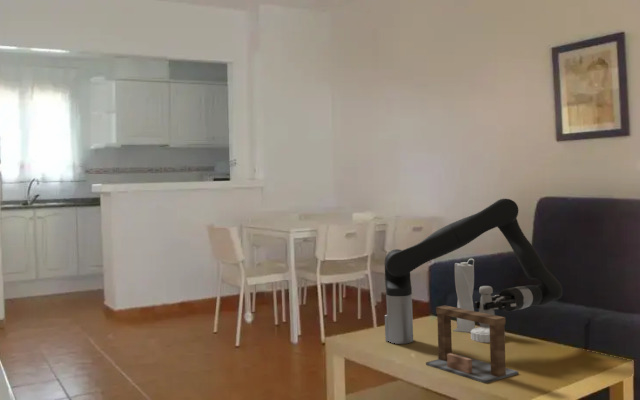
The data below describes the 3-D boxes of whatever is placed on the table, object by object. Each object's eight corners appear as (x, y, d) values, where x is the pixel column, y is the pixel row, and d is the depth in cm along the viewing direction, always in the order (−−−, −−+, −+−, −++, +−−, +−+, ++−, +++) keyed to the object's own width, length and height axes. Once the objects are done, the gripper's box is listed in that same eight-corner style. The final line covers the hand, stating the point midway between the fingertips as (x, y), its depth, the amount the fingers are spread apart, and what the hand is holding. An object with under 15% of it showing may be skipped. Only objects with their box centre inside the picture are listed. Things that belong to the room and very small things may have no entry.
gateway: (426, 364, 215) (424, 309, 214) (457, 356, 222) (456, 303, 222) (485, 383, 194) (484, 322, 193) (518, 373, 202) (516, 314, 201)
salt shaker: (496, 328, 215) (495, 288, 215) (478, 328, 217) (477, 288, 216) (495, 324, 221) (494, 284, 221) (477, 324, 222) (476, 284, 222)
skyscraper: (480, 329, 260) (478, 257, 258) (473, 334, 253) (471, 260, 251) (459, 327, 264) (456, 256, 263) (452, 332, 257) (449, 259, 256)
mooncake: (466, 341, 243) (465, 331, 243) (477, 334, 253) (477, 324, 253) (498, 344, 236) (498, 334, 236) (509, 337, 246) (509, 327, 246)
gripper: (499, 285, 232) (463, 291, 223) (532, 290, 221) (496, 297, 211) (499, 306, 233) (464, 314, 223) (533, 312, 221) (497, 321, 211)
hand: (480, 306), depth 217 cm, fingers closed on salt shaker, 3 cm apart
